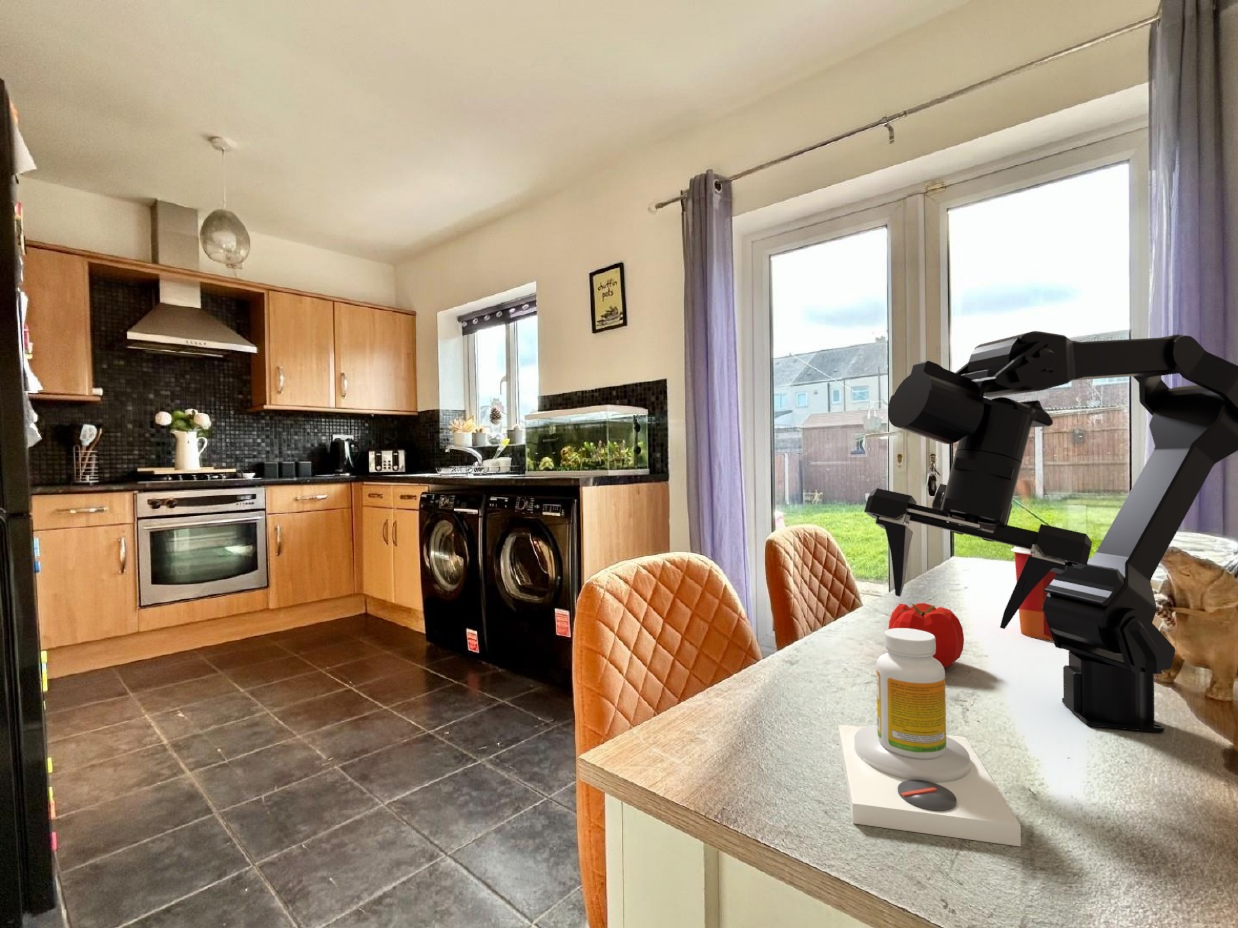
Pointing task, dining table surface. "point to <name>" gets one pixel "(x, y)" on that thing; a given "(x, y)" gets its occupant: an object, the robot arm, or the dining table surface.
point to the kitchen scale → (924, 790)
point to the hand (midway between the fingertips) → (947, 611)
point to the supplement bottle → (911, 695)
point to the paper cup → (1033, 601)
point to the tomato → (932, 628)
